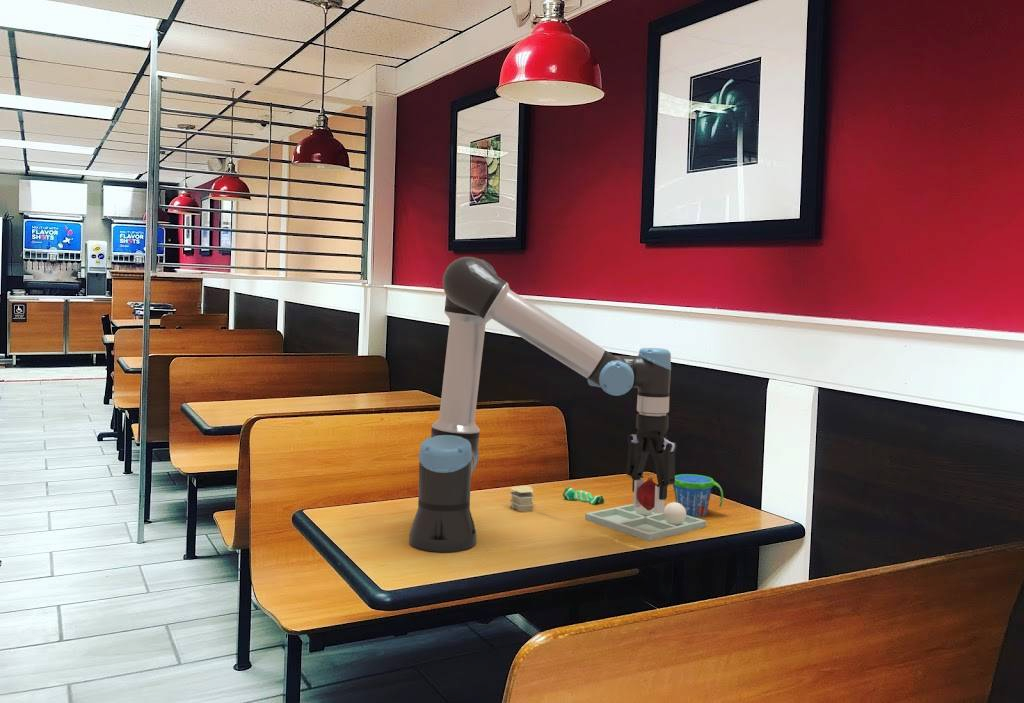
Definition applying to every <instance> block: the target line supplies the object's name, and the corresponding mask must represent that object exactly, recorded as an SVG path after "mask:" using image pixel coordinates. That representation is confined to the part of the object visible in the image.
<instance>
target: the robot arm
mask: <svg viewBox="0 0 1024 703" xmlns="http://www.w3.org/2000/svg"><path fill="white" fill-rule="evenodd" d="M442 288H443V291H444V293H445V302H444V314H445V315H446V317H447V318H448V319H449V326H448V332H447V333H448V335H447V342H446V352H445V359H444V360H445V362H444V372H443V379H442V388H441V389H442V390H441V398H440V407H439V414H438V419H437V420H436V421H434V422H433V423H432V425H431V431H430V437H428V438H426V439H424V440H423V441H422V442H421V444H420V446H419V452H418V460H419V464H418V465H419V466H418V467H419V468H418V499H417V500H418V501H417V502H418V504H417V510H416V513H415V516H414V519H413V522H412V526H411V528H410V531H409V541H408V542H409V544H410V545H411V546H412V547H414V548H417V549H419V550H423V551H427V552H428V551H429V552H438V553H449V552H450V553H451V552H453V553H454V552H461V551H465V550H469V549H471V548H472V547H474V546H476V544H477V530H476V525H475V523H474V520H473V516H472V512H471V509H470V508H471V506H470V504H471V480H472V474H473V472H474V471H475V470H476V468H477V466H478V463H479V456H480V453H479V442H480V441H479V440H480V432H481V428H479V427H478V425H477V423H476V411H477V403H478V394H479V393H478V392H479V385H480V376H481V367H482V358H483V350H484V341H485V332H486V325H487V323H488V322H490V321H491V320H494V321H495V322H497V323H499V324H500V325H502V326H503V327H504V328H506V329H507V330H509V331H510V332H513V333H514V334H516V335H517V336H519V337H521V339H523V340H525V341H527V342H528V343H529V344H531V345H533V346H535V347H537V348H538V349H539V350H541V351H542V352H544V353H546V354H548V355H549V356H551V357H553V358H554V359H556V360H557V361H559V362H560V363H562V364H563V365H565V366H567V367H568V368H570V369H571V370H573V371H574V372H576V373H577V374H579V375H580V376H583V378H585V379H587V384H588V385H589V386H590V387H598V388H601V389H602V391H603V392H605V393H606V394H608V395H611V396H617V397H619V396H622V395H626V393H628V392H629V391H631V389H634V388H635V389H636V388H637V399H636V400H637V401H636V411H637V412H638V413H637V414H636V418H635V419H636V420H635V422H636V423H635V427H636V429H637V432H636V434H628V435H627V437H626V438H627V454H626V455H627V458H626V470H625V473H626V476H629V477H631V479H632V484H631V485H632V486H631V490H632V493H633V502H634V504H633V503H632V504H633V507H640V506H642V505H641V504H640V503H639V501H638V499H637V492H638V489H639V487H640V486H641V485H642V484H643V483H644V482H645V479H643V478H644V477H645V476H644V475H643V474H644V471H645V468H646V464H647V461H648V458H649V455H650V454H651V455H650V456H651V458H653V464H654V469H655V475H656V480H657V483H656V484H657V485H656V486H655V504H654V513H656V514H657V513H662V512H664V508H665V503H666V502H665V501H666V500H667V497H668V487H669V485H673V484H674V483H675V476H676V450H677V447H678V444H677V442H675V441H674V442H671V441H669V439H668V436H667V431H668V430H669V415H668V413H669V412H670V391H671V374H672V363H671V362H672V360H671V359H672V357H671V356H672V355H671V351H669V349H666V348H663V347H661V348H659V347H642V348H640V349H639V352H638V355H632V356H631V355H628V356H627V355H614V354H613V353H611V352H609V351H607V350H606V349H604V348H603V347H601V346H600V345H598V344H596V343H595V342H593V341H591V340H590V339H589V338H587V337H585V336H584V335H582V334H580V333H579V332H577V331H576V330H574V329H573V328H571V327H569V326H568V325H567V324H565V323H563V322H561V320H559V319H557V318H555V317H554V316H552V315H550V314H549V313H548V312H545V311H544V310H543V309H541V308H539V307H538V306H536V305H535V304H533V303H531V302H530V301H529V300H527V299H525V298H524V297H522V296H520V295H519V294H517V293H516V292H514V291H513V290H512V289H511V288H510V284H509V283H508V282H507V281H506V280H504V279H502V278H501V277H499V276H498V275H497V272H496V270H495V269H494V267H493V266H492V265H491V263H489V262H488V261H486V260H484V259H480V258H477V257H474V256H473V257H472V256H463V257H459V258H457V259H455V260H454V261H452V262H451V263H450V264H449V265H448V266H447V267H446V269H445V271H444V273H443V276H442Z"/></svg>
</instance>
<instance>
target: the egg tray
mask: <svg viewBox="0 0 1024 703" xmlns="http://www.w3.org/2000/svg"><path fill="white" fill-rule="evenodd" d="M584 515H585V516H584V518H585V519H584V520H585V521H588V522H591V523H594V524H597V525H600V526H604V527H606V528H609V529H612V530H615V531H618V532H621V533H624V534H627V535H630V536H632V537H636V538H639V539H641V540H645V541H648V542H652V541H655V540H660V539H662V538H667V537H671V536H675V535H681V534H684V533H688V532H691V531H696V530H699V529H703V528H707V520H704V519H701V518H699V517H691V516H688V515H686V518H685V520H684V522H683V523H681V524H679V525H672V524H669V523H667V522H666V520H665V519H664V516H663V512H662V513H657V514H656V513H654V511H653V512H652V513H651V514H650V515H647V516H642V515H639V514H638V513H636V511H635V510H634V507H633V503H632V504H626V505H621V506H615V507H611V508H606V509H602V510H596V511H591V512H585V514H584Z"/></svg>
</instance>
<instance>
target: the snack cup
mask: <svg viewBox="0 0 1024 703" xmlns="http://www.w3.org/2000/svg"><path fill="white" fill-rule="evenodd" d="M672 487H673V491H674V498H675V502H677V503H680V504H681V505H682V506H683V507H684V508H685V510H686V515H688V516H691V517H695V518H701V517H706V516H707V515H708V514H707V513H708V510H709V505H710V500H711V494H712V488H713V487H717V488H718V489H719V492H720V499H719V500H720V501H719V507H720V508H721V507H722V505H723V501H724V491H723V488H722V487H721V485H720V484H719V483H718V482H716V481H715V480H714V479H713V478H712V477H710V476H706V475H701V474H692V473H691V474H690V473H689V474H688V473H686V474H685V473H684V474H683V473H681V474H675V483H674V484H672Z"/></svg>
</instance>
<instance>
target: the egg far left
mask: <svg viewBox="0 0 1024 703" xmlns="http://www.w3.org/2000/svg"><path fill="white" fill-rule="evenodd" d="M632 504H634V501H633V502H632ZM634 510H635V511H636V513H638V514H639V515H642V516H647V515H650V514H651V513H652V512H653V511H654V508H653V509H651V510H646V509H645V508H644V507H643V506H640V507H634Z"/></svg>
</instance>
